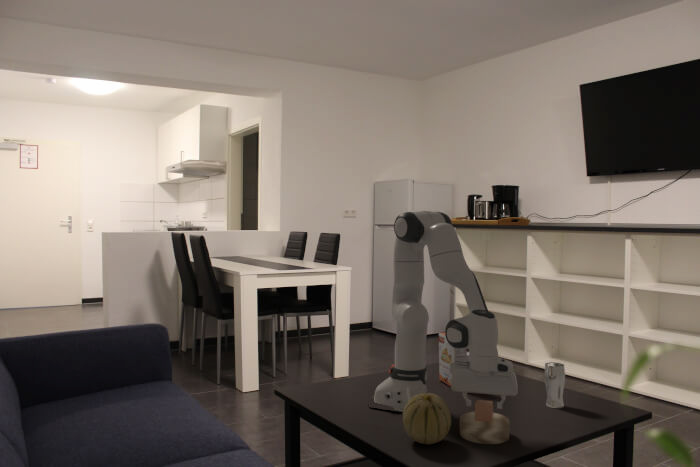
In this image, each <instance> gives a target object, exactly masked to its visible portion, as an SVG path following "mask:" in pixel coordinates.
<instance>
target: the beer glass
mask: <svg viewBox="0 0 700 467" xmlns="http://www.w3.org/2000/svg"><path fill="white" fill-rule="evenodd" d="M565 370H566V369H565V364H564V363H560V362H552V361H551V362H545V363H544V384H545V389H546V396H547V397H546V402H545V405H546V407H548V408H551V409H563V408H564V407H565V404H564V399H563V398H564V396H563V395H564V390H565V384H566V383H565V382H566V371H565Z"/></svg>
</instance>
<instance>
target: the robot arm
mask: <svg viewBox="0 0 700 467" xmlns="http://www.w3.org/2000/svg"><path fill="white" fill-rule="evenodd" d="M393 224H394V225H393V231H394V234H395V236H396V237H395V241H394V245H393V288H392V289H393V290H392V301H391V315H392V319H393V320H394V322H396V334H395V335H396V336H395V341H394V342H395V343H394V364H392V365H390V368H389V369H388V374H389V377H387V378H386V379H385V380H384V381H382V382H381V383H380V384H378V385H377V386H376V388H375V391H374V396H373V397H374V402H375V403H378V404H383V405H387V406H391V407H393V408H394V409H395V410H399V411H403V412H404V408H405V406H406V404H407V403H408V402H409V400H410V399H411V398H412V397H414V396H416V395H418V394H421V393H428V389H427V382H428V369H427V367H426V342H427V335H428V327H429V326H428V325H429V322H430V320H429V319H430V316H429V315H430V314H429V312H428V310H427V308H426V306H425V305H424V304H423V303H422V300H423V290H424V285H425V257H424V256H425V255H424V254H425V252H424V251H425V247H427V250H428V255H429V261H430V262H429V263H430V265H431V269H432V270H431V271H432V272H433V274H434V275H435V277H436V278H437V279H439V280H440V281H441V282H443V283H446V284H449V285H452V286H454V287H456V288H457V289H459V291H461V293H462V294H463V296H464V300H465V302H466V305H467V308H468V311H469V313H468V314H467V315H463V316H461V317H457V318H454V319H451V320H449V321H448V322H447V324H446V325H445V329H444V330H445V331H444V332H445V336H446V340H447V342H448V343H449V344H450V345H451V346H452V347H454V348H467V349H468V352H469V362H459V361H455V362H454V363H452V364H451V365H450V373H451V374H452V378H451V387H450V389H451V390H452V392H458V393H461V394H462V397H463V399H464V401H465V406H466V407H470V408H471V407H472V399H469V398H468V393H469V394H471V393H472V394H484V395H496V396H500V398H501V400H500V402H499V401H497V404H496V409H497V410H503V404H504V402H505V400H506V399H507V396H509V397H516V396H517V394H518V393H519V392H518V391H519V390H518V381H517V380H518V379H517V376H516V375H517V374H516V373H515V371H514V364H513V361H510V360H508V359H505V358H502V357H500V356H499V352H498V346H497V345H498V342H499V328H498V320H497V317H496V315H495V314H494V313H493V312H492V311H489V310H488V307H487V304H486V301H485V299H484V295H483V292H482V290H481V287H480V284H479V281H478V279H477V277H476V275H475V273H474V271H472V270H471V269H470V267H469V265H468V264H467V262H466V260H465V255H464V253H463V249H462V245H461V242H460V238H459V236H458V233H457V231H456V229H455V226H453V223H452V220H451V218H450V216H449V215H448V214H446V213H444V212H441V211H430V210H421V211H413V212H412V211H406V212H403V213H400V214H398V215H397V216H396V218H395V220H394V222H393ZM454 364H455V365H454Z"/></svg>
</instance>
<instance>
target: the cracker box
mask: <svg viewBox="0 0 700 467" xmlns="http://www.w3.org/2000/svg"><path fill="white" fill-rule="evenodd" d="M467 349H468V348H454V347H452V346H451V345H450V344H449V343H448V342H447V340H446V336H445V331H444V332H439V333H438V364H439V365H438V368H439V370H438V371H439V373H438V374H439V381H440V380H441V381H443V382H444V383H446V384H447V385H449V386H451V378H452V374H451V373H450V365H451V364H452V363H454V362H455V361H459V362H467V352H468V351H467ZM454 365H455V364H454ZM444 383H443V384H444ZM447 385H446V386H447ZM449 386H448V387H449Z"/></svg>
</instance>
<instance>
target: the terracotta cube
mask: <svg viewBox="0 0 700 467" xmlns="http://www.w3.org/2000/svg"><path fill="white" fill-rule="evenodd" d="M475 400H476V401H475V402H474V411H475V421H483V422H492V419H493V413H494V409H493V408H494V406H493V405H494V403H493V400H481V399H475Z"/></svg>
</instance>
